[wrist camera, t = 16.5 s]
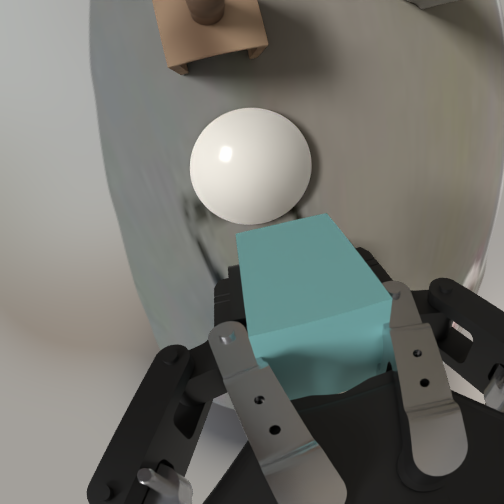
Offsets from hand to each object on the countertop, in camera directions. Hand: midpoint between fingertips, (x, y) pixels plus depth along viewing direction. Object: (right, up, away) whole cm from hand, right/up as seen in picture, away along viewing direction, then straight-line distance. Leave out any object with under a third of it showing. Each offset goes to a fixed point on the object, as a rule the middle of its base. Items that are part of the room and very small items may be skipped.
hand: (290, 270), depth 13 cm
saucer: (-2, +10, +19) cm, 21 cm away
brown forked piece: (-6, +23, +11) cm, 26 cm away
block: (0, 0, 0) cm, 1 cm away
